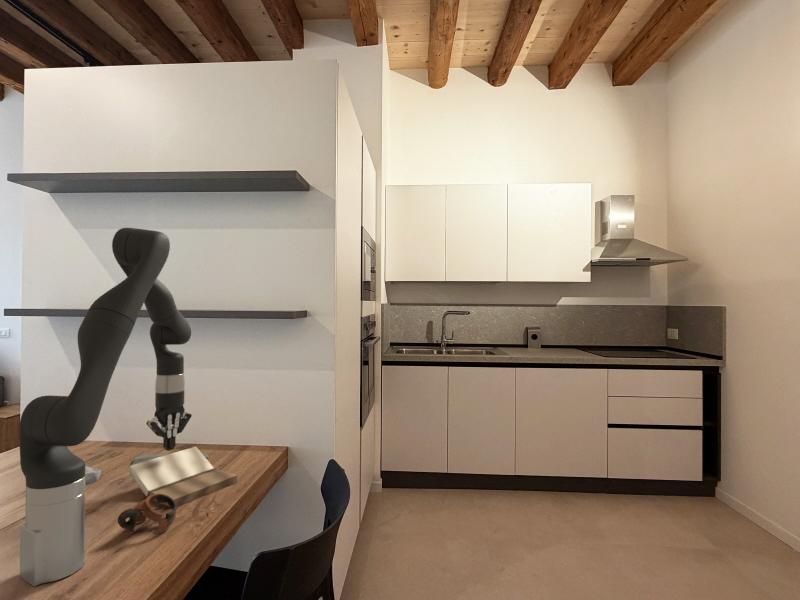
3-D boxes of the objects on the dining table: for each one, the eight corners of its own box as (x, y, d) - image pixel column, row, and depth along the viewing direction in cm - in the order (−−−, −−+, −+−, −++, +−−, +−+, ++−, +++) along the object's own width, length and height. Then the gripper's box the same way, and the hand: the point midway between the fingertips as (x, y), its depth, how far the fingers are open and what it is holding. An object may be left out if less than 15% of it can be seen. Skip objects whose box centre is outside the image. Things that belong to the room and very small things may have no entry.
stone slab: (135, 463, 153) (131, 469, 144) (135, 455, 153) (131, 460, 144) (208, 456, 162) (209, 461, 153) (208, 448, 162) (209, 452, 153)
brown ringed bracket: (153, 516, 113) (170, 488, 112) (170, 545, 107) (188, 515, 107) (103, 523, 103) (121, 492, 102) (118, 555, 97) (138, 522, 97)
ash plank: (146, 496, 122) (148, 490, 122) (128, 471, 126) (130, 465, 126) (211, 473, 139) (214, 468, 139) (193, 451, 144) (195, 446, 143)
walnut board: (172, 508, 116) (172, 499, 116) (149, 499, 121) (149, 491, 121) (237, 482, 133) (237, 474, 133) (214, 475, 139) (214, 468, 139)
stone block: (81, 478, 140) (44, 483, 132) (85, 462, 141) (49, 465, 133) (104, 487, 135) (67, 492, 126) (108, 470, 136) (72, 474, 127)
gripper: (155, 394, 126) (154, 458, 126) (198, 387, 138) (198, 445, 137) (139, 391, 130) (139, 453, 130) (183, 384, 141) (182, 441, 141)
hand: (169, 449), depth 134 cm, fingers closed
